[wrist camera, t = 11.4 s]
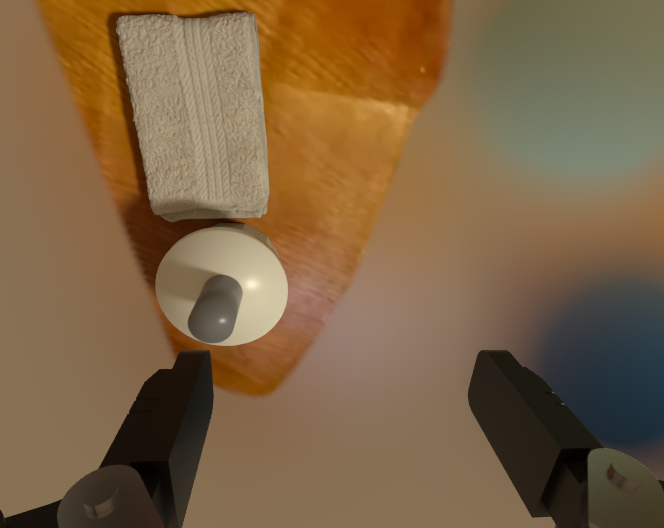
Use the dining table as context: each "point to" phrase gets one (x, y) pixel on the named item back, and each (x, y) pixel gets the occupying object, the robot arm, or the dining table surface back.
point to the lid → (222, 286)
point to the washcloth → (198, 113)
